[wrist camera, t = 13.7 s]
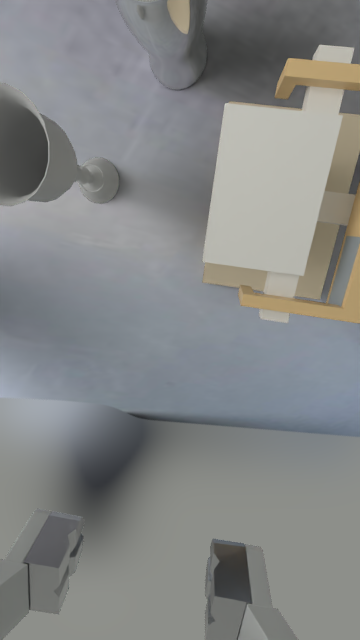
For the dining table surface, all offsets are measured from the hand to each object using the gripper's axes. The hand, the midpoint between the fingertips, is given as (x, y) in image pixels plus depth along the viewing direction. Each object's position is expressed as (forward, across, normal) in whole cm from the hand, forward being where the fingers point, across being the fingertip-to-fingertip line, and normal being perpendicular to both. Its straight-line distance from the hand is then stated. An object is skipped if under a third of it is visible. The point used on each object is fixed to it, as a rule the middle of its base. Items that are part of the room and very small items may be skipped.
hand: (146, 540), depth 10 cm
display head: (+32, -8, -12) cm, 35 cm away
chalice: (+33, +13, -13) cm, 38 cm away
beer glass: (+32, +5, -26) cm, 42 cm away
